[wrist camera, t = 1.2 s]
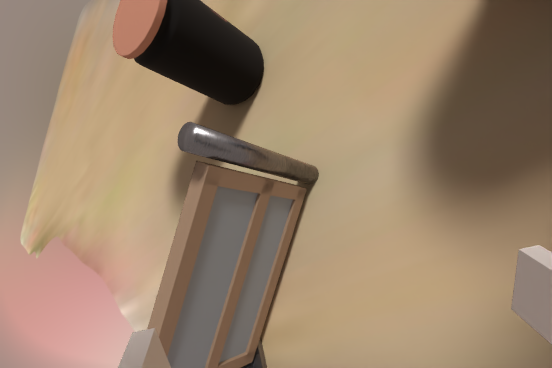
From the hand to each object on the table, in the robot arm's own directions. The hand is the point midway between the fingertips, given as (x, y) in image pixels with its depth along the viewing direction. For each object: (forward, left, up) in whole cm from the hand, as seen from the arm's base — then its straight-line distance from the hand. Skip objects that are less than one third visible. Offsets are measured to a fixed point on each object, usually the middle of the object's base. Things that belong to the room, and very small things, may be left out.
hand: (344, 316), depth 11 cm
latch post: (-15, -11, -23) cm, 29 cm away
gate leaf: (-5, -19, -22) cm, 29 cm away
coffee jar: (-36, -17, -23) cm, 46 cm away
